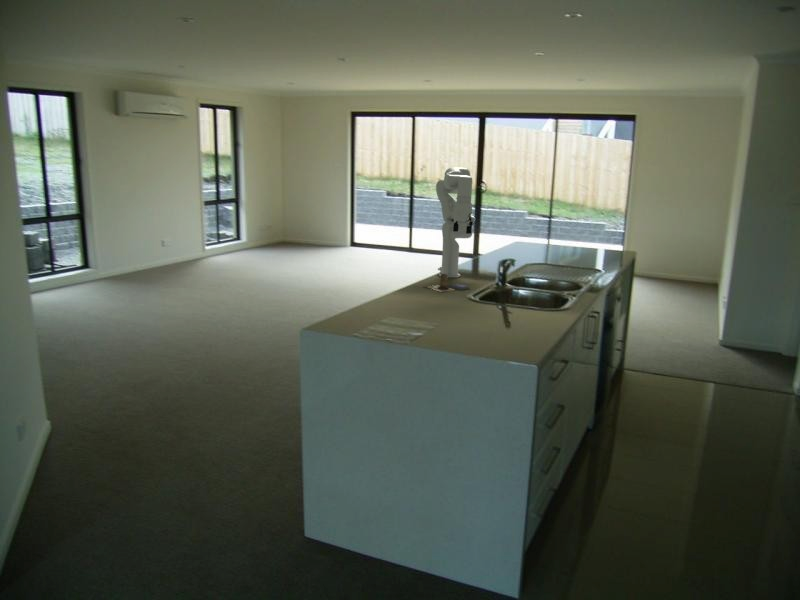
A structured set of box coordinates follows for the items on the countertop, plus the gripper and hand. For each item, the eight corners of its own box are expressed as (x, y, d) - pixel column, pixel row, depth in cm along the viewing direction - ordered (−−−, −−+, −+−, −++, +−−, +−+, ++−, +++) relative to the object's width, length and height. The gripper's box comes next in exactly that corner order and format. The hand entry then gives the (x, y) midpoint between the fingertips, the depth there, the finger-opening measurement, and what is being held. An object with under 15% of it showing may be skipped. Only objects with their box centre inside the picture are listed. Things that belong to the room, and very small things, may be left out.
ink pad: (448, 287, 335) (448, 284, 334) (457, 286, 339) (457, 283, 339) (460, 290, 328) (460, 287, 328) (469, 289, 333) (470, 286, 332)
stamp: (437, 288, 329) (438, 273, 327) (443, 288, 331) (444, 272, 329) (443, 290, 326) (444, 274, 324) (448, 289, 328) (449, 273, 326)
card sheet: (422, 287, 333) (422, 286, 333) (436, 285, 339) (436, 284, 339) (441, 291, 323) (441, 291, 323) (455, 289, 329) (455, 289, 329)
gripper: (447, 198, 337) (445, 231, 341) (470, 201, 324) (468, 234, 328) (457, 198, 342) (455, 230, 346) (480, 201, 329) (478, 234, 333)
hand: (462, 232), depth 337 cm, fingers open, 9 cm apart
